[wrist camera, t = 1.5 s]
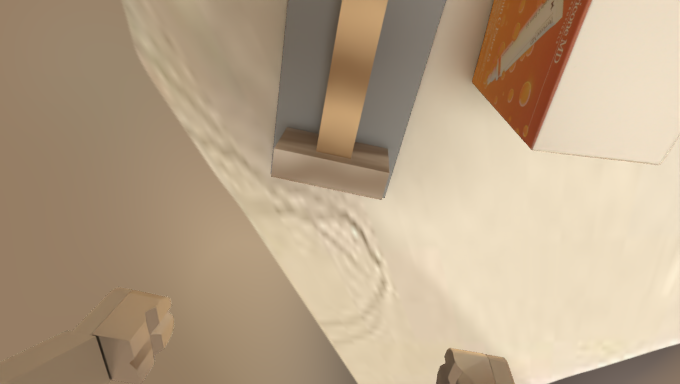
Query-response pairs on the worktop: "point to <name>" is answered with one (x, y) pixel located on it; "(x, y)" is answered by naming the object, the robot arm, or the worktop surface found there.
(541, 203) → the worktop surface
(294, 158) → the wooden t-shaped stand
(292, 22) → the mat
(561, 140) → the small box
